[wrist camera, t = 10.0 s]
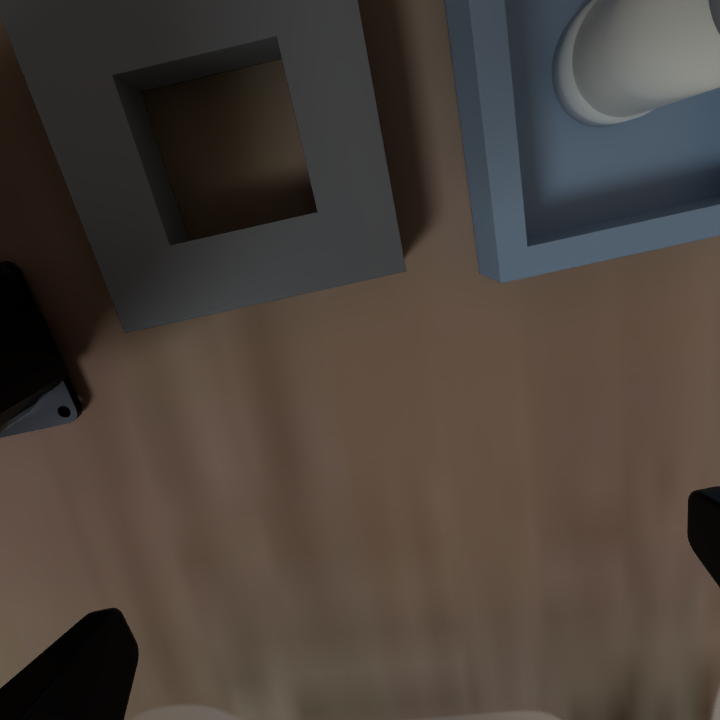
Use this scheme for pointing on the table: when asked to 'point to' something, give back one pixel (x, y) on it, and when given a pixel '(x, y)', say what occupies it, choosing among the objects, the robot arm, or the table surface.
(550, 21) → the parts tray
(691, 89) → the grey rounded piece
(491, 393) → the table surface
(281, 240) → the grey flat square frame
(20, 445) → the table surface
